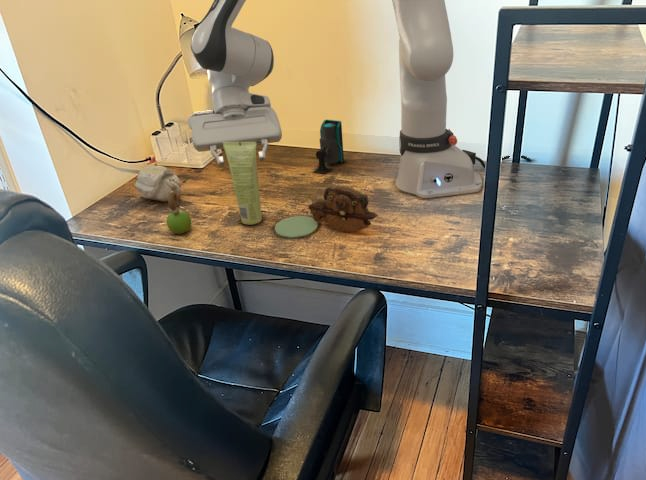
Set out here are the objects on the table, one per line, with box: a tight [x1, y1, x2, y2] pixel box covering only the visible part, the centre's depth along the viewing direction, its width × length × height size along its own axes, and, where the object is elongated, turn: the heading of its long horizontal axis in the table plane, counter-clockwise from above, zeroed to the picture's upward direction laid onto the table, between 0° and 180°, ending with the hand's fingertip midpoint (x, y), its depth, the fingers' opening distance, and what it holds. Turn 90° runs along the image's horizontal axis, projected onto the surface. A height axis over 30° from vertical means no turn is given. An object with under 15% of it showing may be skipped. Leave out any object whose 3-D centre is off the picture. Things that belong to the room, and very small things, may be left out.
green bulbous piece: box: [166, 179, 192, 235], centre depth 122 cm, size 5×6×12 cm
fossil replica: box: [134, 163, 182, 203], centre depth 140 cm, size 12×8×10 cm
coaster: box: [274, 215, 319, 239], centre depth 124 cm, size 10×10×1 cm
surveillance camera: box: [313, 119, 345, 175], centre depth 151 cm, size 6×12×10 cm
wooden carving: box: [307, 185, 379, 233], centre depth 119 cm, size 16×5×10 cm, turn 70°
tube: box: [223, 142, 263, 226], centre depth 123 cm, size 6×5×20 cm
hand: (242, 162), depth 122 cm, fingers open, 8 cm apart
